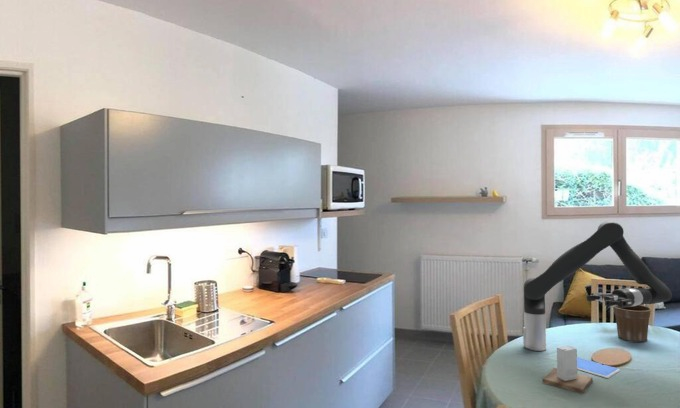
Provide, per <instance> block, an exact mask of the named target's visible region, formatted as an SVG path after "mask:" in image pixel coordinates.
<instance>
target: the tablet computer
mask: <svg viewBox="0 0 680 408" xmlns="http://www.w3.org/2000/svg"><path fill="white" fill-rule="evenodd" d="M602 364H603V363H598V362H596V361H592V360H590V359H589V360H588V359H586V358H581V357H578V356H577V371H578V370H579V371H581V372H586V373H589V374H592V375H595V376H598V377H601V378H604V379H608V378H610V377H613V376H614V375H616V374H617V373H619V372H620V368H618V367H615V366H610V365H606V364H604V365H602Z"/></svg>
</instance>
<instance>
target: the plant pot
mask: <svg viewBox="0 0 680 408" xmlns="http://www.w3.org/2000/svg"><path fill="white" fill-rule="evenodd" d="M612 308H613V313H614V315H615V322H616V331H617V337H618V338H619V339H621V340H624V341H626V342H627V341H628V342H633V343H634V342H635V343H640V342H641V343H644V342H647V341H648V337H649V336H648V334H649V325H650V324H649V323H650V318H651V312H652V311H653V310H652V308H651V307H649V306H647V305H644V304H643V305H637V306H632V307H623V308H620V307H617V306H612Z"/></svg>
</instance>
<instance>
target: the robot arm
mask: <svg viewBox="0 0 680 408" xmlns="http://www.w3.org/2000/svg"><path fill="white" fill-rule="evenodd" d="M597 227H598V228H597V230H596V231H595V232H594V233H593V234H592V235H590V236H589V237H588V238H586V239H585V240H584V241H582V242H580V243H578V244H575V245H574V246H573V247H571V248H569V249H568V250H566V251H565V252H564V253H562V254H561V255H559V257H557V258H556V260H555V259H554V261H553V262H552V264H551V265H549V267H548V268H547V269H546V270H545V271H544V272H542V273H541V274H540V275H539V276H537V277H531V278H528V279H526V281H525V282H524V284H523V309H524V311H523V312H524V314H523V315H524V317H523V318H524V320H523V321H524V327H522V335H523V336H522V339H523V340H522V341H523V342H522V343H523V348H525V349H528V350H530V351H537V352H543V351H545V350H547V329H546V327H547V326H546V321H547V320H546V296H545V295H547V293H548V292H550V290H552V289H553V288H554V287H555V286H556V285H558V284H559V283H560V282H562V281H564V280H565V279H567V278H569V277H570V276H572V274H574V273H576V272H578V271H579V270H580V269H581V268H583V267H584V266H585V265H586V264H587V263H589V262H590V261H591V260H592V259H593V258H595V257H596V256H597V255H598V254H599V253H601V252H602V251H604V250H605V249H606V248H608V247H610V248H611V249H612V250H613V252H614V253H615V254H616V256H617V257H618V258H619V260H620V261H621V263H622V264H623V265H624V267H625V268H626V270H627V272H628V273H629V274H630V276H631V277H632V278H633V280H634V282H636V284H639V285H646V286H647V287H634V288H633V287H632V288H631V287H627V288H619V289H617V288H616V289H614V290H612V292H611V293H604V292H602V291H601V292H591V293H590V295H587V296H586V301H587V302H600V303H604V306H606V307H613V306H617V307H620V308H623V307H632V306H637V305H643V306H644V305H654V304H658V303H666V302H669V301H671V299H672V298H673V297H672V295H673V294H672V291H671V290H670V288H669V287H668V286H667V285H666V283H664V282H663V281H661V280H660V279H659V277H657V276H655V275H654V274H653V273H652V272H651V270H650V268H649V267H648V266H647V265H646V264H645V262H644V261H643V260H642V258H640V257H639V255H638V254H637V253H636V251H634V250H633V249H632V247H631V246H630V245H629V243H628V242H627V240H626V239H625V237H624V228H623V226H622V225H621V224H619V223H618V222H615V221H610V220H609V221H604V222H602V223H600V224H599V225H598V226H597Z"/></svg>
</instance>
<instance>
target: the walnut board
mask: <svg viewBox="0 0 680 408" xmlns="http://www.w3.org/2000/svg"><path fill="white" fill-rule="evenodd" d="M592 382H593V376H589V375H585V374H582V373H581V374H580V373H578V372H577V379H574V380H568V381H564V380H562V379H560V378H559V377H557V367H553V368H552V369H551V370H550V371H549V372H548V373H547V374H546V375H545V376H543V378H542V384H547V385H551V386H554V387H558V388H562V389H565V390H568V391H571V392H572V391H573V392H575V393H580V394H584V393H585V391H586V390H587V389H588V388H589V386H590V385H591V384H592Z"/></svg>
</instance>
